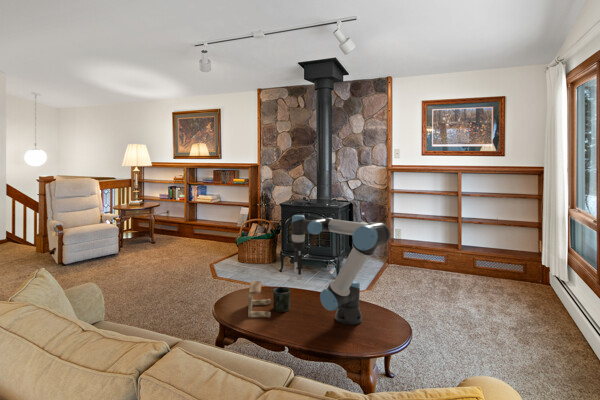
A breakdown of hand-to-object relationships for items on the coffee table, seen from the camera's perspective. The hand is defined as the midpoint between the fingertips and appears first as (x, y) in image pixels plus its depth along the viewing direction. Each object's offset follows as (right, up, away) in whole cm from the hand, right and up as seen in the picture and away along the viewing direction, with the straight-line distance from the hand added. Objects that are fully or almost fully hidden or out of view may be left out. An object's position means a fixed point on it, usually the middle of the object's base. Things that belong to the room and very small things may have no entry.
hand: (297, 276), depth 213 cm
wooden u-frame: (-24, -21, +3) cm, 32 cm away
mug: (-10, -22, +4) cm, 25 cm away
